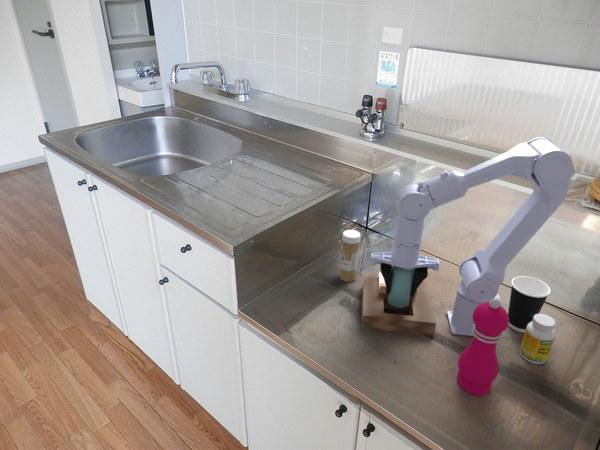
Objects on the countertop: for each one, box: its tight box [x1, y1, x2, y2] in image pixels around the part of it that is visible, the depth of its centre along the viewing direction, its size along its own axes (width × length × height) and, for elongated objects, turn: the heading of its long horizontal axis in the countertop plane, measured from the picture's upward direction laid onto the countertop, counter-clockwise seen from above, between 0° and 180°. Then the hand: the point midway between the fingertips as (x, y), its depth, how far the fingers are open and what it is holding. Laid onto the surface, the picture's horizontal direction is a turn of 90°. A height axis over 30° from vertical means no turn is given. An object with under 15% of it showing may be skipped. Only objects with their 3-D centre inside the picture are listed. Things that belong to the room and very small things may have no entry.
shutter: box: [378, 271, 418, 297], centre depth 110 cm, size 9×9×3 cm
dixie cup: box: [507, 275, 552, 333], centre depth 102 cm, size 8×8×11 cm
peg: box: [388, 265, 415, 308], centre depth 101 cm, size 5×5×9 cm
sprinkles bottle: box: [339, 229, 361, 283], centre depth 117 cm, size 5×5×14 cm
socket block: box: [360, 275, 437, 337], centre depth 107 cm, size 16×16×4 cm
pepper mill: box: [456, 299, 509, 396], centre depth 83 cm, size 7×7×20 cm
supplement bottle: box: [519, 313, 556, 365], centre depth 93 cm, size 5×5×10 cm
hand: (399, 292), depth 102 cm, fingers closed on peg, 5 cm apart
